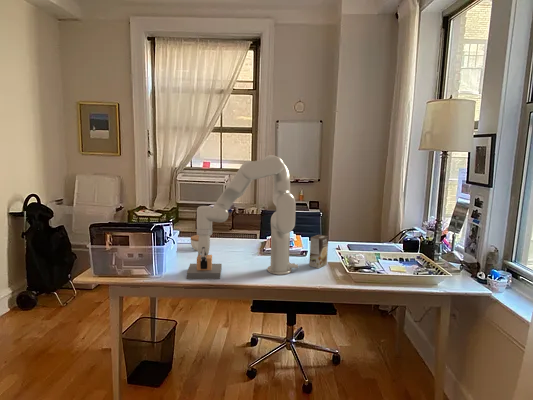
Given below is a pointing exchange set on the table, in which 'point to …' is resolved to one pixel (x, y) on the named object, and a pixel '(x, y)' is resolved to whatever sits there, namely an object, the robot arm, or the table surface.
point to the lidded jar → (195, 242)
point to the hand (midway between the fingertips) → (204, 266)
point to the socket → (204, 272)
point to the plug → (209, 262)
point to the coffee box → (318, 251)
